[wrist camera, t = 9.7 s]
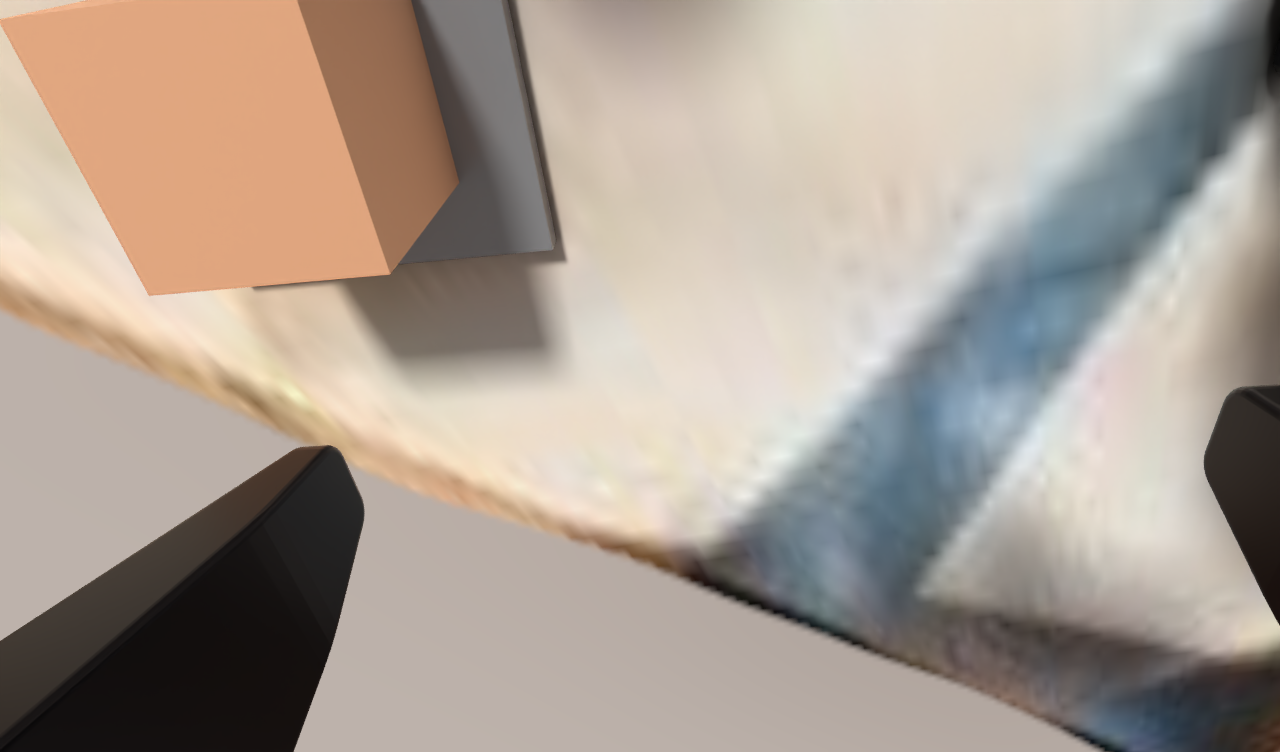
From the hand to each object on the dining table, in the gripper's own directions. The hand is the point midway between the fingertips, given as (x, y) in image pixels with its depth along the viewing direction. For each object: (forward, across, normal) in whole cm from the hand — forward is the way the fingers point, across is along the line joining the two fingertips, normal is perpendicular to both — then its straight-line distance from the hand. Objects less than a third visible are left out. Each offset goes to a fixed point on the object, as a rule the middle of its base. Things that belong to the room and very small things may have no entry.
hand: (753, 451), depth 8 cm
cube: (+11, +9, -2) cm, 15 cm away
